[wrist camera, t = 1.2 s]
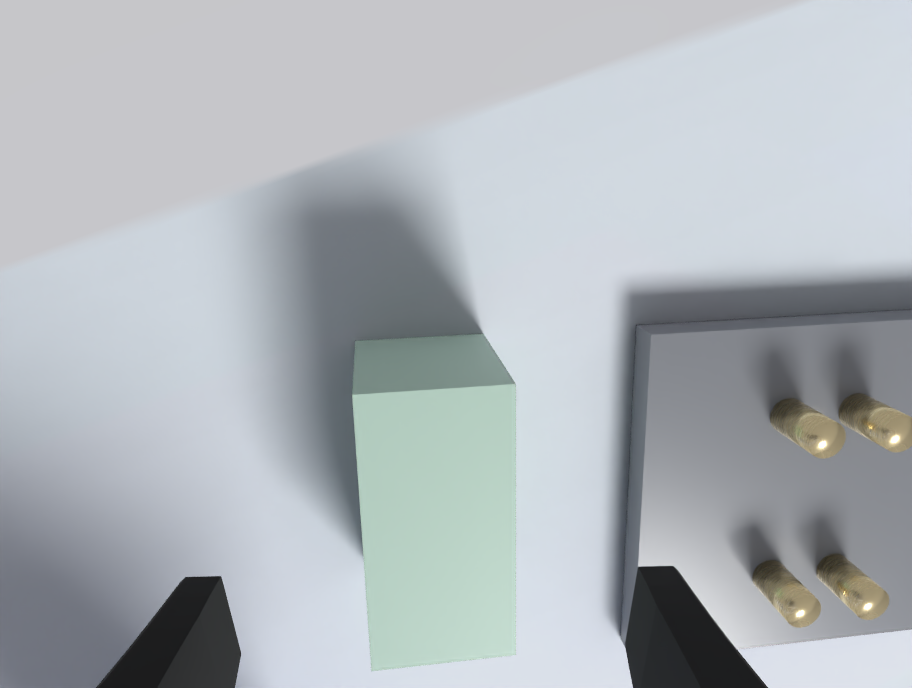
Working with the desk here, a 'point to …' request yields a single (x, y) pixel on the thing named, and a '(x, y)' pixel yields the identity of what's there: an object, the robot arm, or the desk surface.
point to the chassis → (776, 472)
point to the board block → (436, 498)
